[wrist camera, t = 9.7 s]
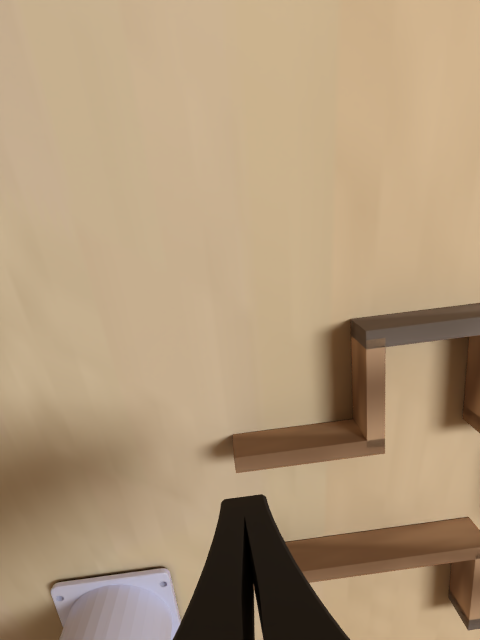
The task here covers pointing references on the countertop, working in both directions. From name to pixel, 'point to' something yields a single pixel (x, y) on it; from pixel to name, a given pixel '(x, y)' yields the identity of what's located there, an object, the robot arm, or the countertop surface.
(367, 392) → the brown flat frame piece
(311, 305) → the countertop surface
